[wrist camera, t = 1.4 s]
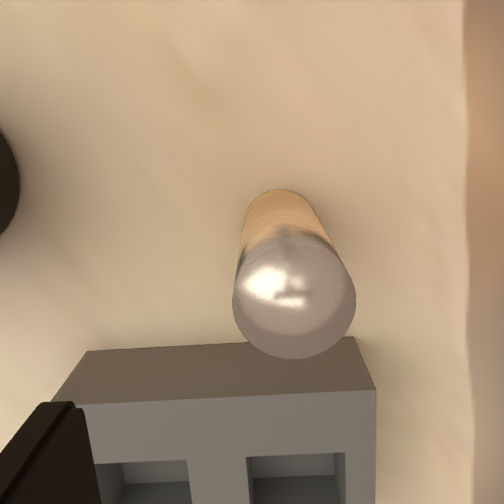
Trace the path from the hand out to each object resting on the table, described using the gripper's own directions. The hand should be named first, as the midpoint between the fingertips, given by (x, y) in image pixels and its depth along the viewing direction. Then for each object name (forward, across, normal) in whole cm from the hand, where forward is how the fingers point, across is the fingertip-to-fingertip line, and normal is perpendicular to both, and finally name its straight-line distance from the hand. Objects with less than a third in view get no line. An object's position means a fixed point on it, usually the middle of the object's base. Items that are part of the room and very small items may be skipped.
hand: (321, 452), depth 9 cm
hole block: (+18, +4, +12) cm, 22 cm away
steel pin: (+17, 0, -1) cm, 17 cm away
